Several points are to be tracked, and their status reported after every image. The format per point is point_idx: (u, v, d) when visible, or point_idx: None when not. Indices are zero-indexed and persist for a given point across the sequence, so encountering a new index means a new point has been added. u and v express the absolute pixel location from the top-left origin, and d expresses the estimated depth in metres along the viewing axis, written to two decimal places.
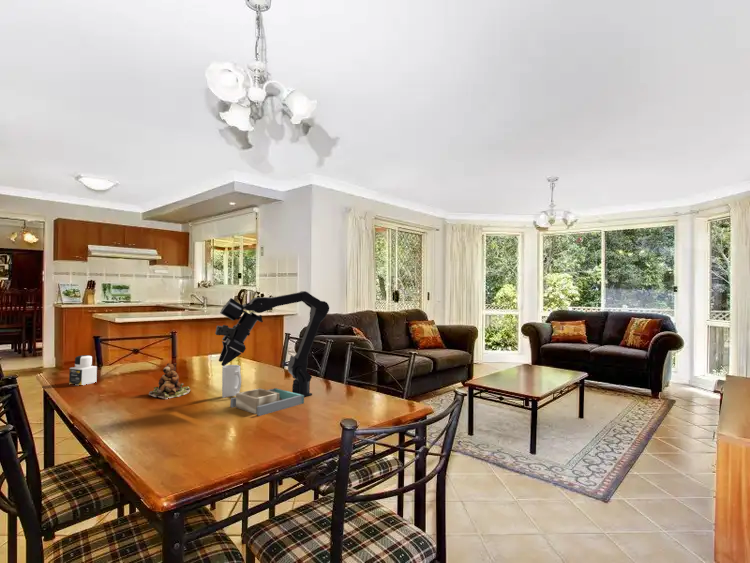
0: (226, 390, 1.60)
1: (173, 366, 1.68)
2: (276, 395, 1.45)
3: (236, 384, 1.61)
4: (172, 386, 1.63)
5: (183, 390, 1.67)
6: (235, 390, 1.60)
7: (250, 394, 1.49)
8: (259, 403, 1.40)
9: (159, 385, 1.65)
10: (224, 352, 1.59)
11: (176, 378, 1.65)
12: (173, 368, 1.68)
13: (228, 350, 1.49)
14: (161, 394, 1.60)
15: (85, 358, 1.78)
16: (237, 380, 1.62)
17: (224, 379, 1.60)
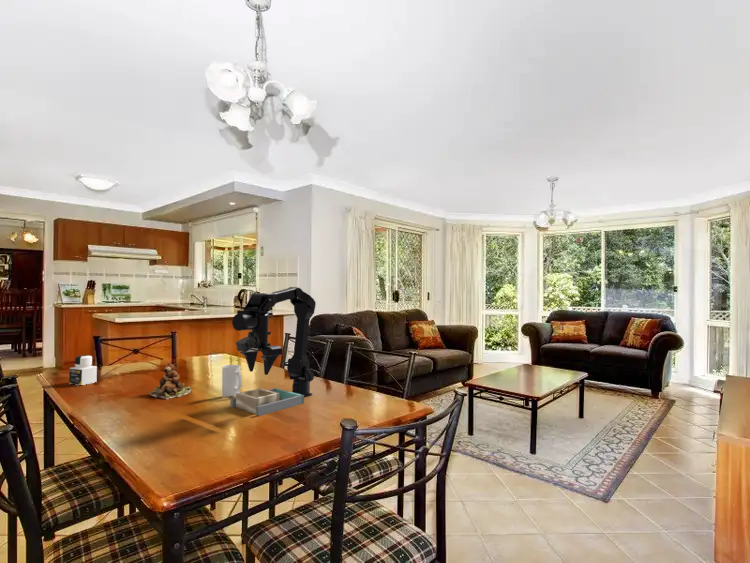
0: (226, 390, 1.60)
1: (174, 366, 1.68)
2: (276, 395, 1.45)
3: (236, 384, 1.61)
4: (173, 386, 1.62)
5: (184, 390, 1.67)
6: (235, 390, 1.60)
7: (250, 394, 1.49)
8: (259, 403, 1.40)
9: (160, 385, 1.65)
10: (250, 361, 1.49)
11: (177, 378, 1.65)
12: (174, 368, 1.68)
13: (266, 359, 1.42)
14: (162, 394, 1.60)
15: (85, 358, 1.78)
16: (237, 380, 1.62)
17: (224, 379, 1.60)
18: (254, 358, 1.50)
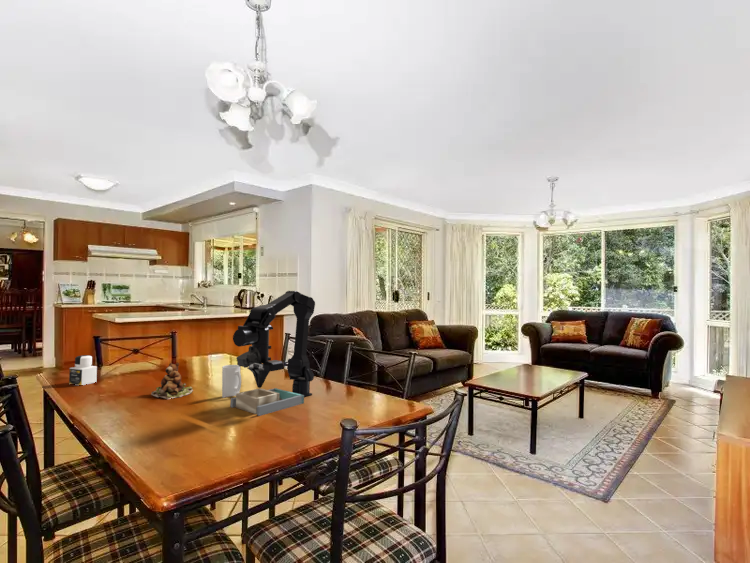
0: (226, 390, 1.60)
1: (175, 366, 1.68)
2: (276, 395, 1.45)
3: (236, 384, 1.61)
4: (174, 386, 1.62)
5: (185, 390, 1.67)
6: (235, 390, 1.60)
7: (250, 394, 1.49)
8: (259, 403, 1.40)
9: (161, 385, 1.65)
10: None
11: (178, 378, 1.65)
12: (175, 368, 1.68)
13: (260, 372, 1.44)
14: (163, 394, 1.60)
15: (85, 358, 1.78)
16: (237, 380, 1.62)
17: (224, 379, 1.60)
18: None
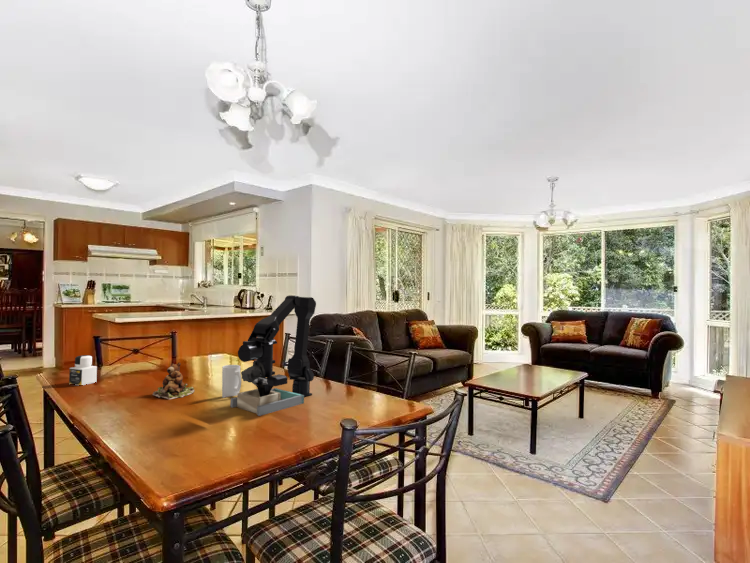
0: (226, 390, 1.60)
1: (177, 366, 1.68)
2: (277, 395, 1.46)
3: (236, 384, 1.61)
4: (176, 386, 1.62)
5: (187, 390, 1.67)
6: (235, 390, 1.60)
7: (251, 394, 1.49)
8: (260, 403, 1.40)
9: (163, 385, 1.65)
10: None
11: (180, 378, 1.65)
12: (177, 368, 1.68)
13: (264, 387, 1.45)
14: (165, 394, 1.60)
15: (85, 358, 1.78)
16: (237, 380, 1.62)
17: (224, 379, 1.60)
18: None
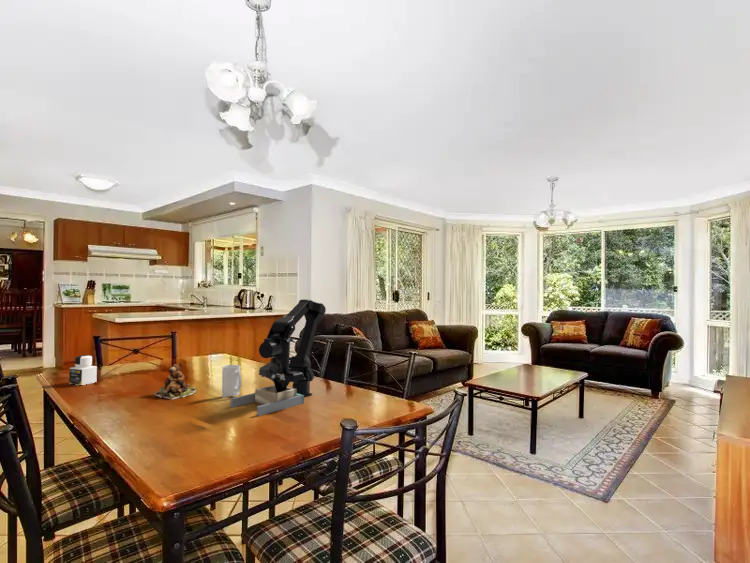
0: (226, 390, 1.60)
1: (179, 366, 1.68)
2: (293, 391, 1.52)
3: (236, 384, 1.61)
4: (178, 386, 1.62)
5: (189, 390, 1.66)
6: (235, 390, 1.60)
7: (268, 390, 1.55)
8: (278, 398, 1.46)
9: (165, 385, 1.65)
10: None
11: (182, 378, 1.65)
12: (179, 368, 1.68)
13: (281, 382, 1.52)
14: (167, 394, 1.60)
15: (85, 358, 1.78)
16: (237, 380, 1.62)
17: (224, 379, 1.60)
18: None
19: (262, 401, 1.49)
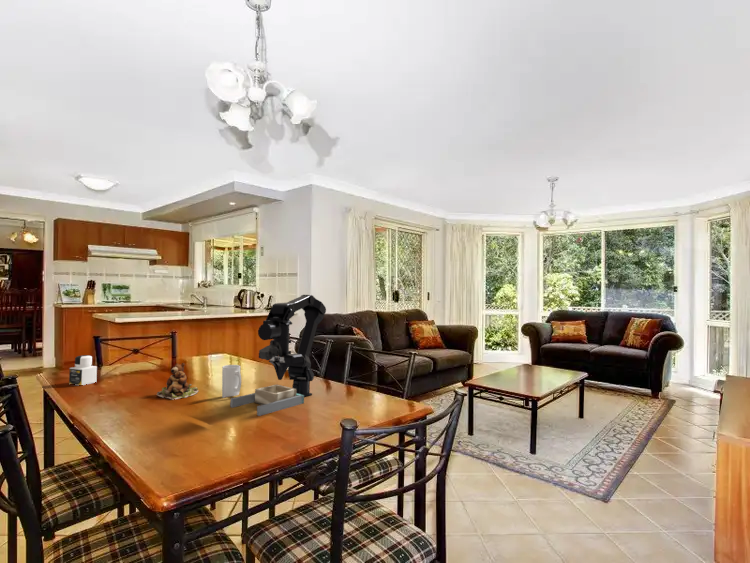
0: (226, 390, 1.60)
1: (181, 366, 1.68)
2: (293, 391, 1.52)
3: (236, 384, 1.61)
4: (180, 387, 1.62)
5: (191, 391, 1.66)
6: (235, 390, 1.60)
7: (268, 390, 1.55)
8: (278, 398, 1.46)
9: (167, 385, 1.64)
10: None
11: (184, 379, 1.64)
12: (181, 368, 1.67)
13: (281, 365, 1.51)
14: (169, 395, 1.60)
15: (85, 358, 1.78)
16: (237, 380, 1.62)
17: (224, 379, 1.60)
18: None
19: (262, 401, 1.49)
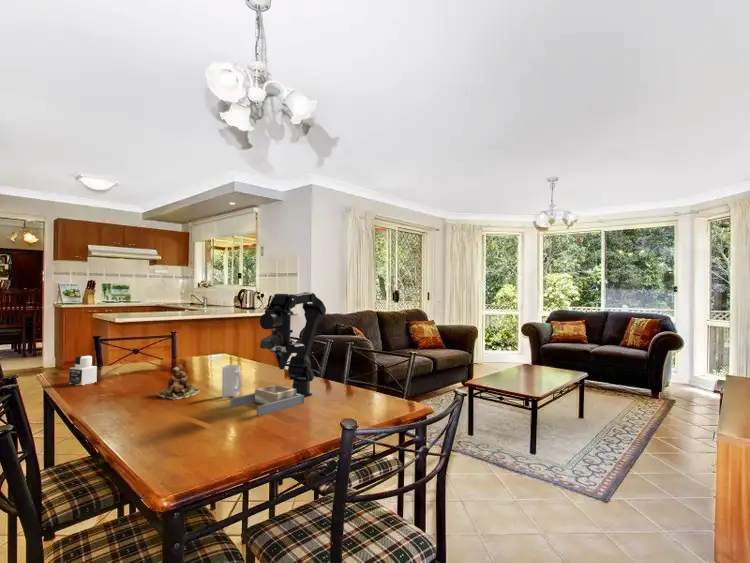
0: (226, 390, 1.60)
1: (182, 367, 1.68)
2: (293, 391, 1.52)
3: (236, 384, 1.61)
4: (181, 387, 1.62)
5: (192, 391, 1.66)
6: (235, 390, 1.60)
7: (268, 390, 1.55)
8: (278, 398, 1.46)
9: (168, 386, 1.64)
10: None
11: (185, 379, 1.64)
12: (182, 369, 1.67)
13: (282, 354, 1.52)
14: (170, 395, 1.59)
15: (85, 358, 1.78)
16: (237, 380, 1.62)
17: (224, 379, 1.60)
18: None
19: (262, 401, 1.49)
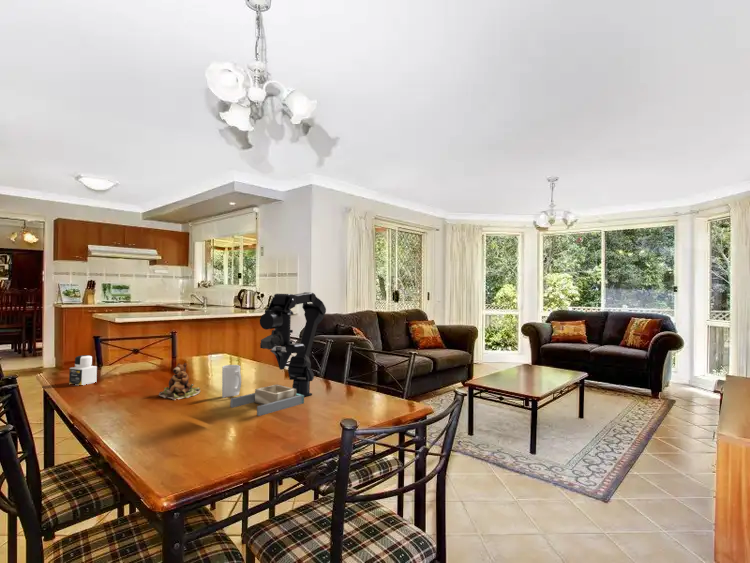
0: (226, 390, 1.60)
1: (183, 367, 1.68)
2: (293, 391, 1.52)
3: (236, 384, 1.61)
4: (182, 387, 1.62)
5: (193, 391, 1.66)
6: (235, 390, 1.60)
7: (268, 390, 1.55)
8: (278, 398, 1.46)
9: (169, 386, 1.64)
10: None
11: (186, 379, 1.64)
12: (183, 369, 1.67)
13: (282, 354, 1.52)
14: (171, 395, 1.59)
15: (85, 358, 1.78)
16: (237, 380, 1.62)
17: (224, 379, 1.60)
18: None
19: (262, 401, 1.49)
